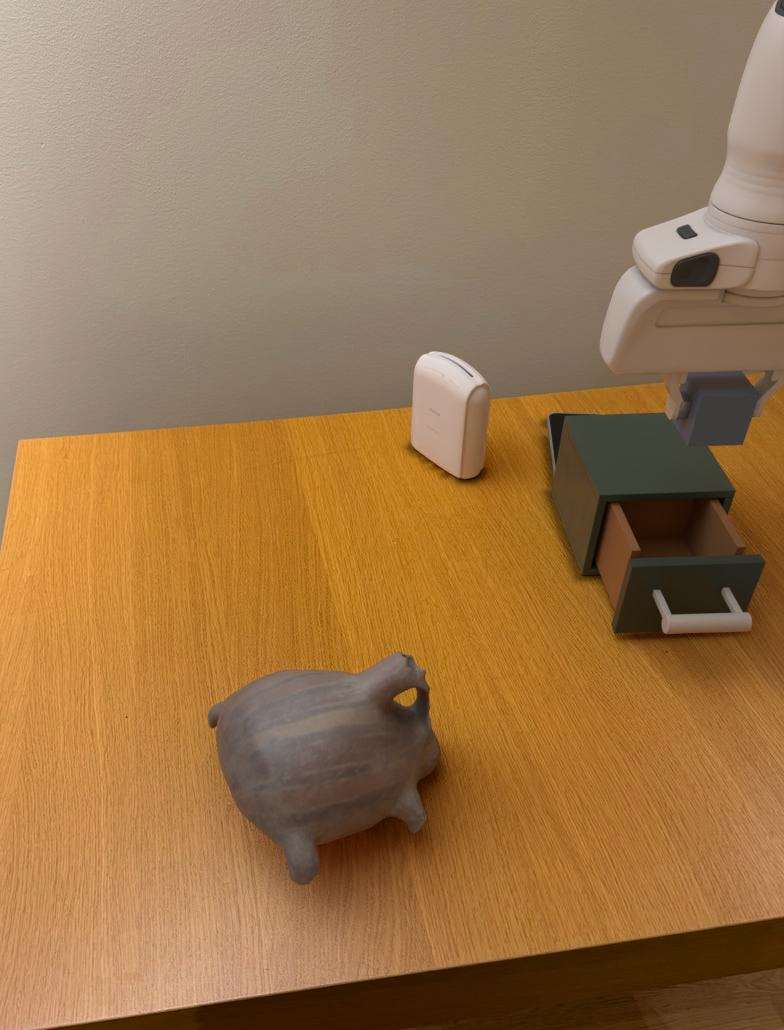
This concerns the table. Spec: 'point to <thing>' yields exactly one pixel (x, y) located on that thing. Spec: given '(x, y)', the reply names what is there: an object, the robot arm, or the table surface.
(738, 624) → the drawer
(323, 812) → the piggy bank
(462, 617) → the table surface
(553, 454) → the smartphone
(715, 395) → the block
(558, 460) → the cabinet
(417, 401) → the photo printer
